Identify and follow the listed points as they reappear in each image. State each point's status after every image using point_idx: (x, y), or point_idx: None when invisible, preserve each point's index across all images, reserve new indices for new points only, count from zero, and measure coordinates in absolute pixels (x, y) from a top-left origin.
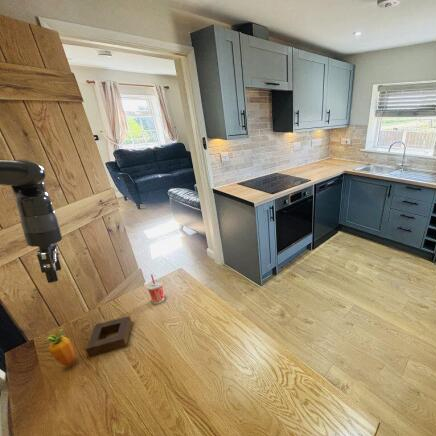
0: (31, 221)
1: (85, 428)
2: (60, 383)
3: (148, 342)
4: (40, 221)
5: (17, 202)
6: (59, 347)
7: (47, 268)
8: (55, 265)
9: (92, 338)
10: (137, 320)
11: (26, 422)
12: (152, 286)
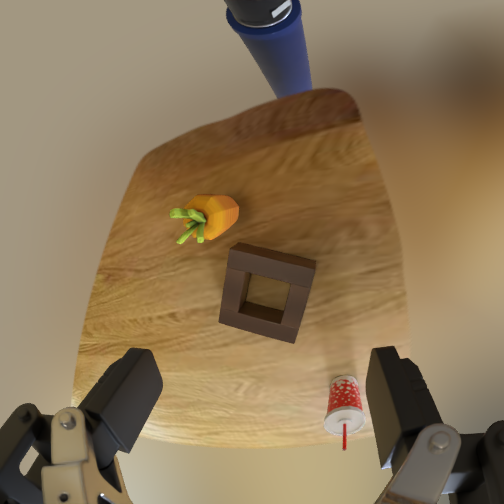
0: None
1: (108, 244)
2: None
3: (216, 345)
4: None
5: None
6: (184, 223)
7: (34, 446)
8: (379, 407)
9: (259, 262)
10: (300, 340)
11: (149, 161)
12: (338, 419)
